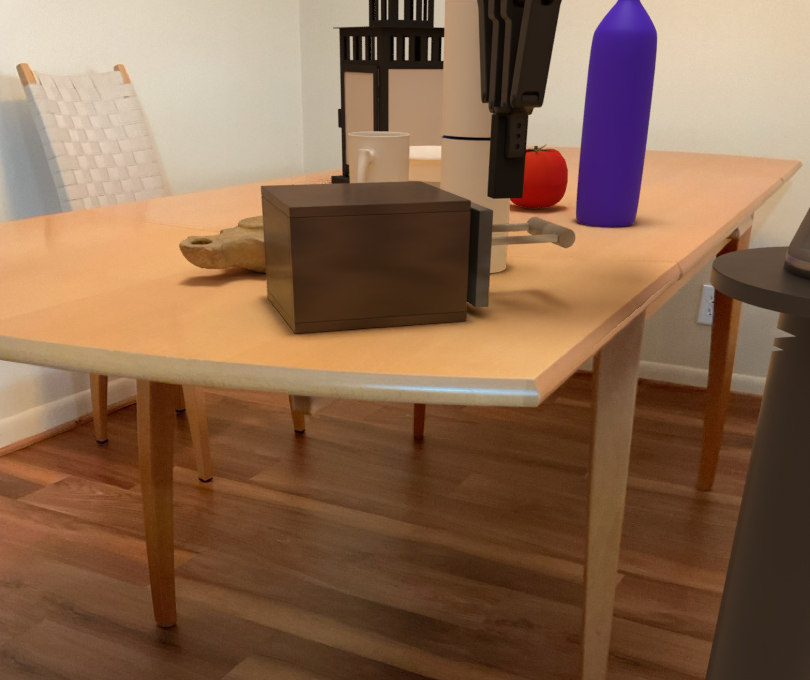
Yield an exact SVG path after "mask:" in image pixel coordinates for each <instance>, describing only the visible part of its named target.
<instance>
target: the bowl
mask: <svg viewBox="0 0 810 680" xmlns="http://www.w3.org/2000/svg"><path fill="white" fill-rule="evenodd" d="M440 178H441V146H410V154H409V181H421V182H424V183H426V184H429V185H432V186H434V187H437V188H439V189H440Z"/></svg>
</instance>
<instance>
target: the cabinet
mask: <svg viewBox="0 0 810 680" xmlns="http://www.w3.org/2000/svg"><path fill="white" fill-rule="evenodd" d="M260 196H261V213H262V215H261V216H263V231H264V248H265V264H266V273H265V278H266V279H265V280H266V295H267V296H266V297H267V299H268V300H269V302H270V303H271V305H273V307H274V308H275V309H276V310H277V312H278V313H279V314H280V316H281V317H282V318H283V319H284V321H285V322H286V324H287V325H288V327H290V328H291V330H292V331H293V333H294V334H308V333H309V334H310V333H320V332H321V333H322V332H334V331H349V330H364V329H376V328H390V327H403V326H415V325H429V324H444V323H455V322H458V323H459V322H467V308H468V302H467V286H468V262H469V238H470V214H471V212H470V210H471V200H468V199H465V198H463V197H460V196H458V195H455V194H452V193H450V192H447V191H445V190H442V189H439V188H437V187H434V186H432V185H429V184H426V183H424V182H421V181H408V182H373V183H339V184H333V183H307V184H277V185H274V184H273V185H260Z"/></svg>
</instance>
